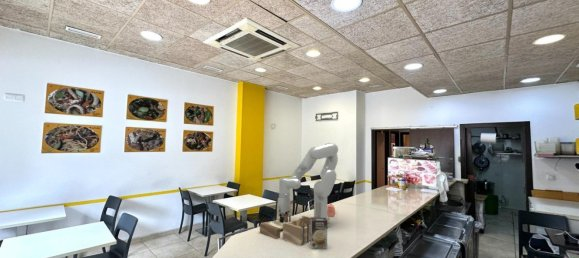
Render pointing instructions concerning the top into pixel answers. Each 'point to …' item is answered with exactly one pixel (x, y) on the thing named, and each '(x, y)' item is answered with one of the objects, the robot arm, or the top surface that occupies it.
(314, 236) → the coffee box
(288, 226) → the open wooden box
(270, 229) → the plank
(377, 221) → the top surface
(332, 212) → the pink lumpy piece
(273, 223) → the lid
